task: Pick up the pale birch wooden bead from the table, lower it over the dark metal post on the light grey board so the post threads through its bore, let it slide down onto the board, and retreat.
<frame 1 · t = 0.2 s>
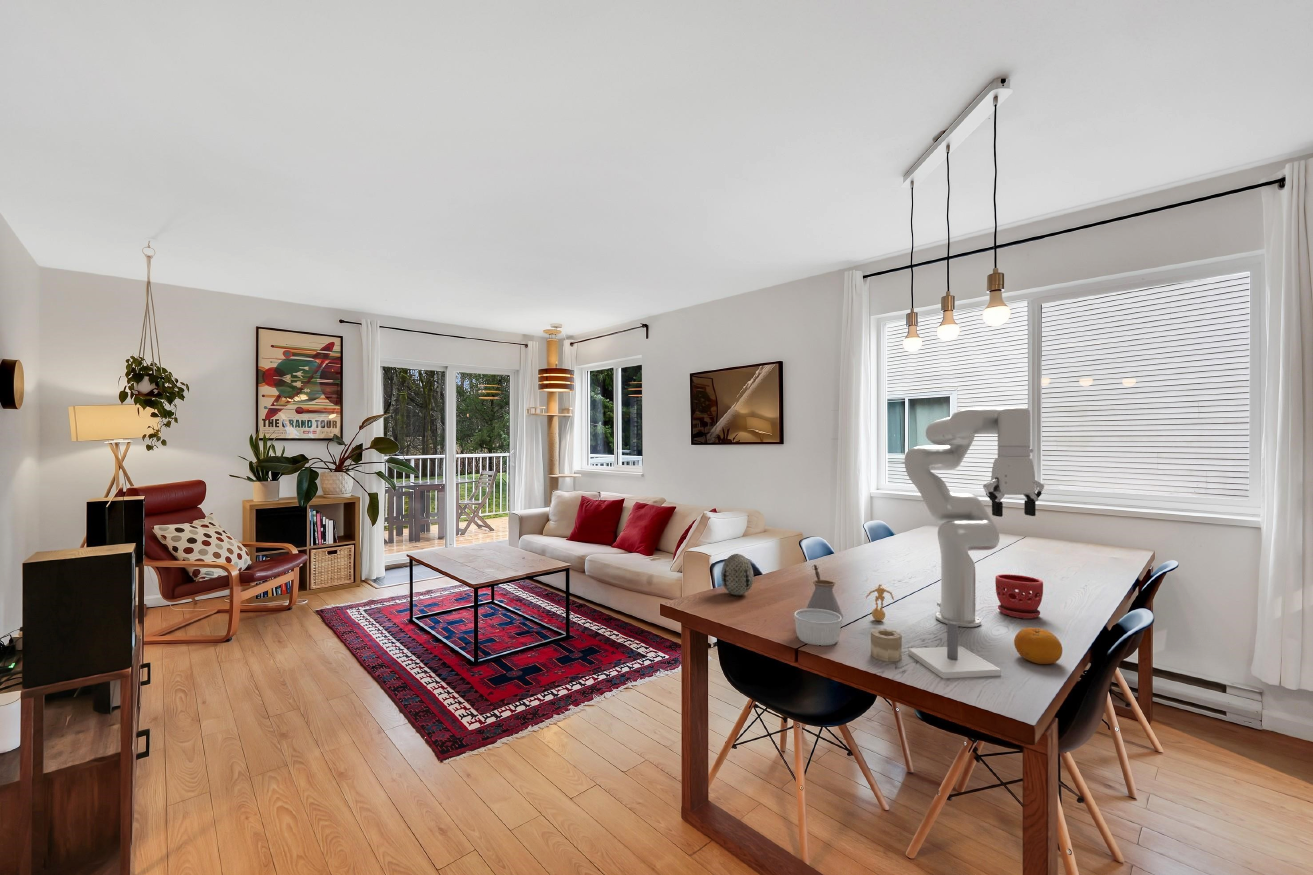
hand: (1013, 515, 152), 37 cm above the table, tool pointing down, fingers open, 9 cm apart
ramekin: (817, 639, 160), on the table
fruit: (1037, 661, 145), on the table
plant pot: (1018, 614, 183), on the table
bead: (886, 655, 148), on the table
post board: (952, 664, 143), on the table
figurine: (879, 622, 175), on the table
decorative egg: (737, 595, 205), on the table
coffee pot: (820, 619, 178), on the table
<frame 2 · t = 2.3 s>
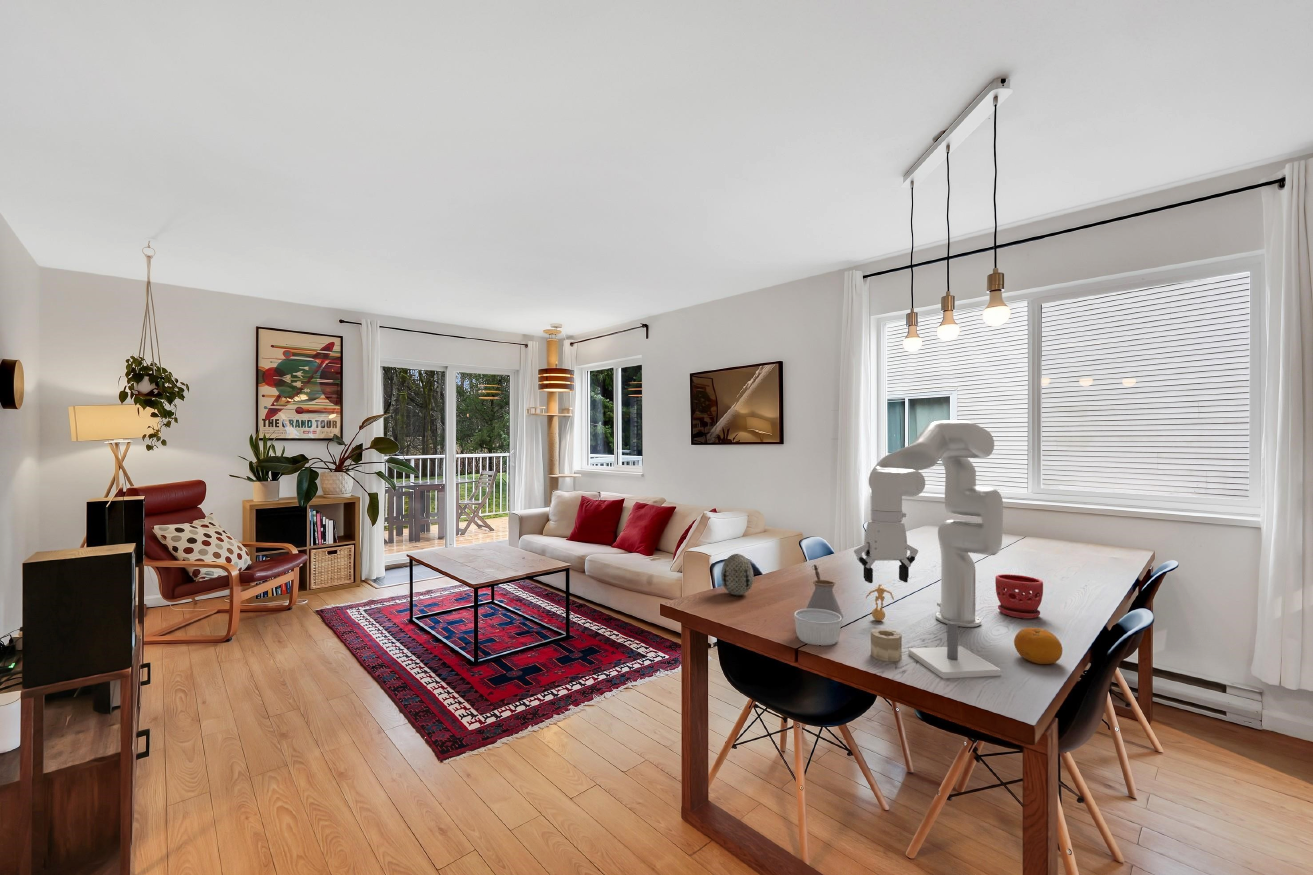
hand: (886, 581, 148), 20 cm above the table, tool pointing down, fingers open, 9 cm apart
nothing on the table moved.
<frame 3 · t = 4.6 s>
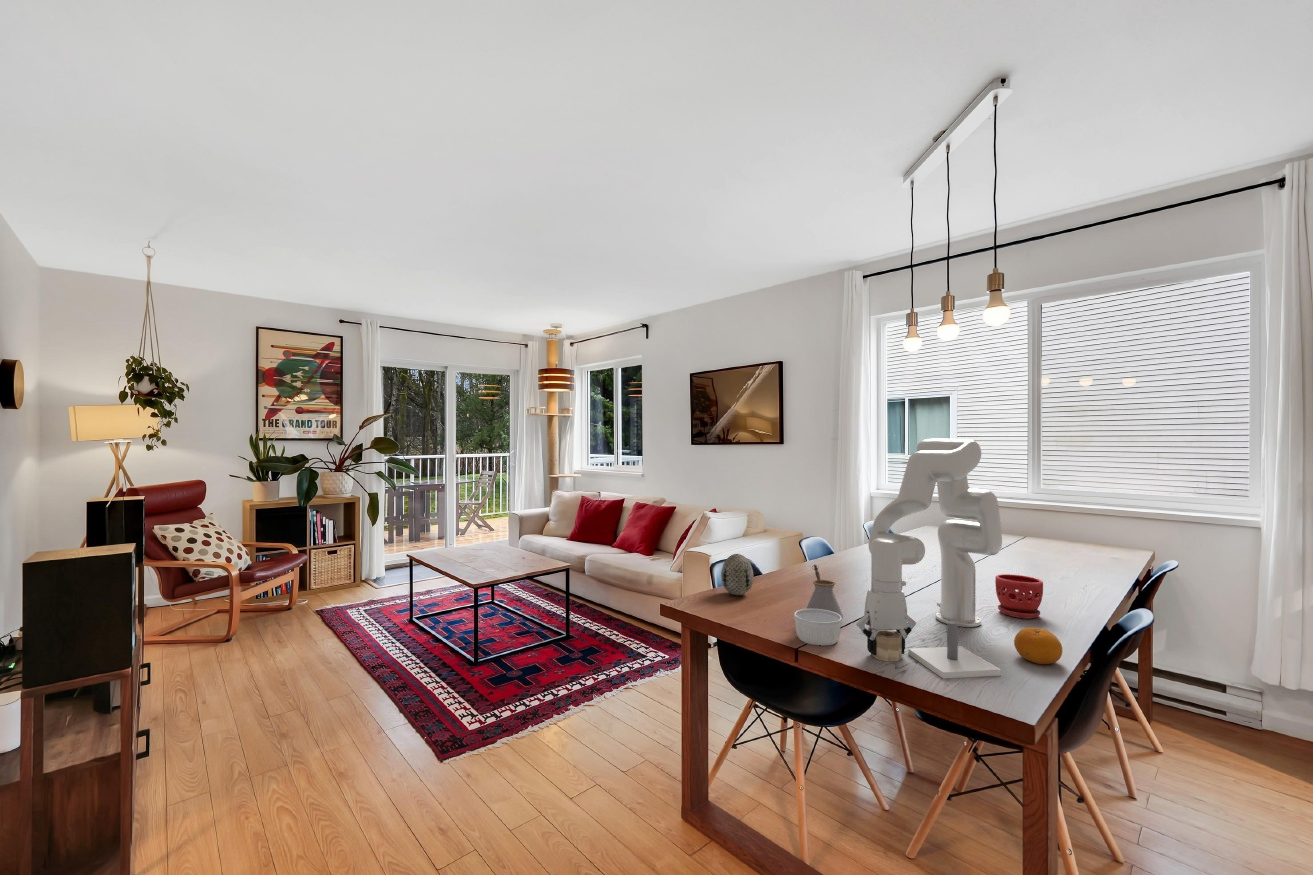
hand: (886, 652, 148), 1 cm above the table, tool pointing down, fingers closed on bead, 7 cm apart
bead: (886, 655, 148), on the table, touching gripper
everything else where it was.
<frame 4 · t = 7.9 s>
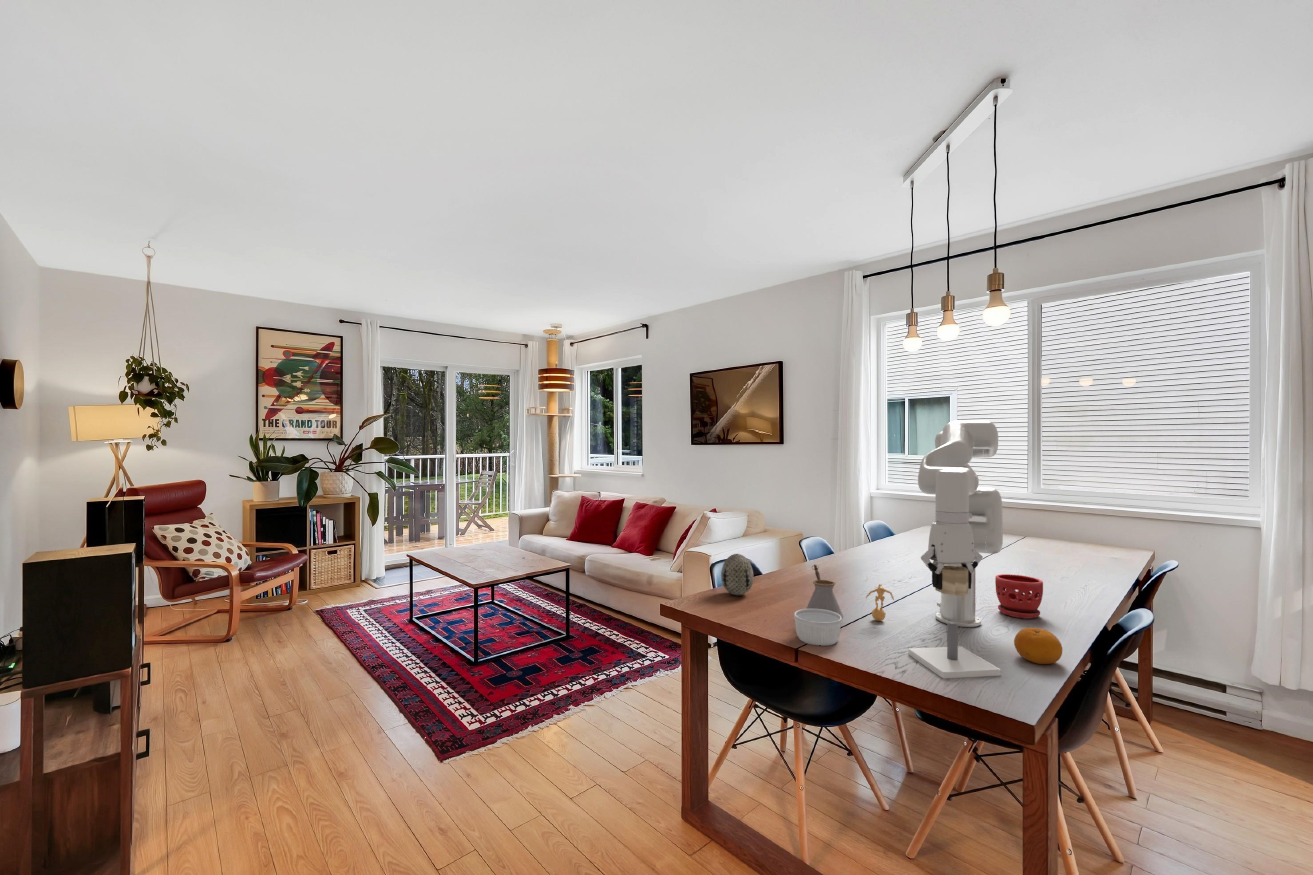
hand: (951, 587, 143), 20 cm above the table, tool pointing down, fingers closed on bead, 7 cm apart
bead: (951, 591, 143), point 19 cm above the table, touching gripper
everything else where it was.
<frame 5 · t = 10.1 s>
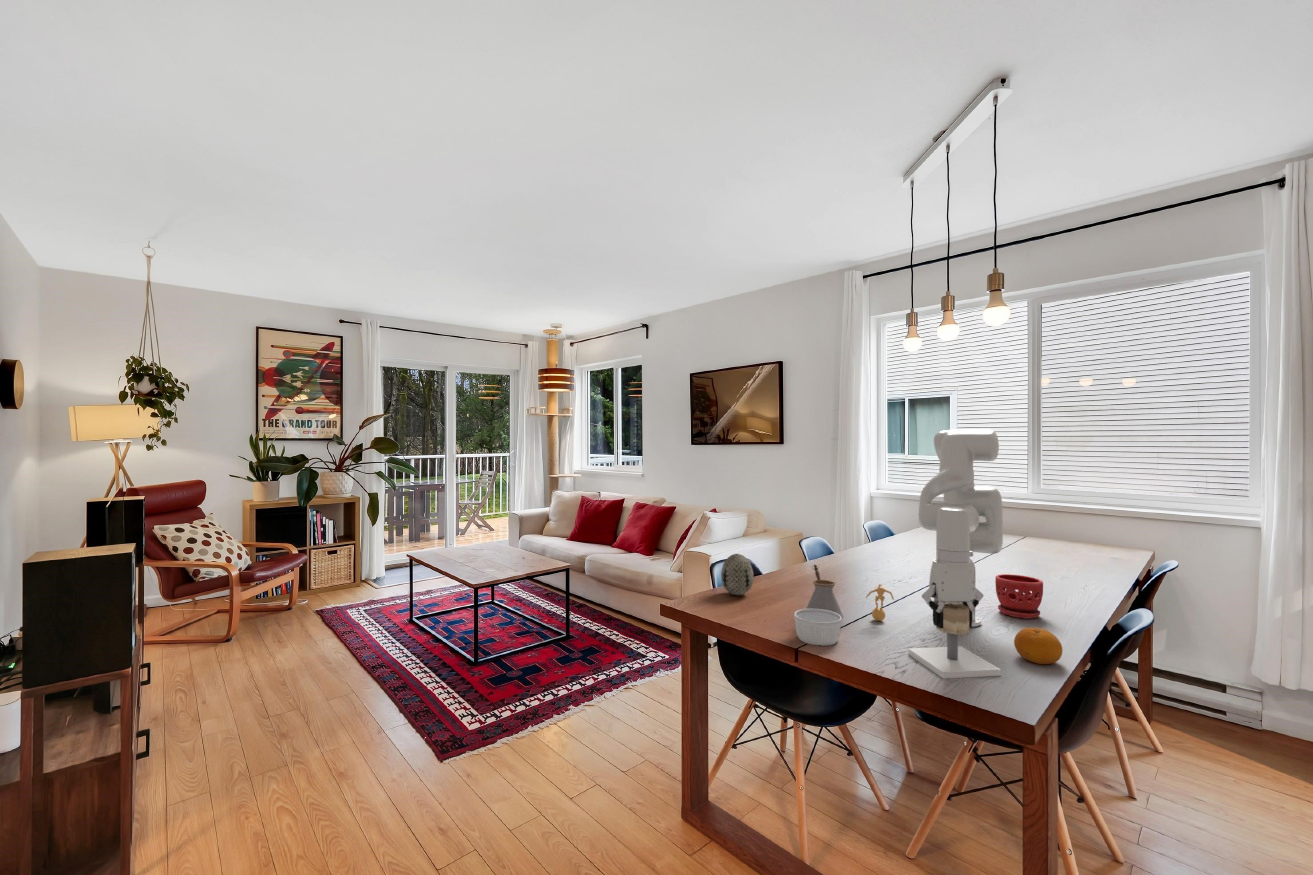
hand: (952, 625, 142), 10 cm above the table, tool pointing down, fingers closed on bead, 7 cm apart
bead: (952, 629, 142), point 9 cm above the table, touching gripper
everything else where it was.
when the fingers open (8 cm above the table, at t = 11.7 s): bead drops 5 cm, resting on post board.
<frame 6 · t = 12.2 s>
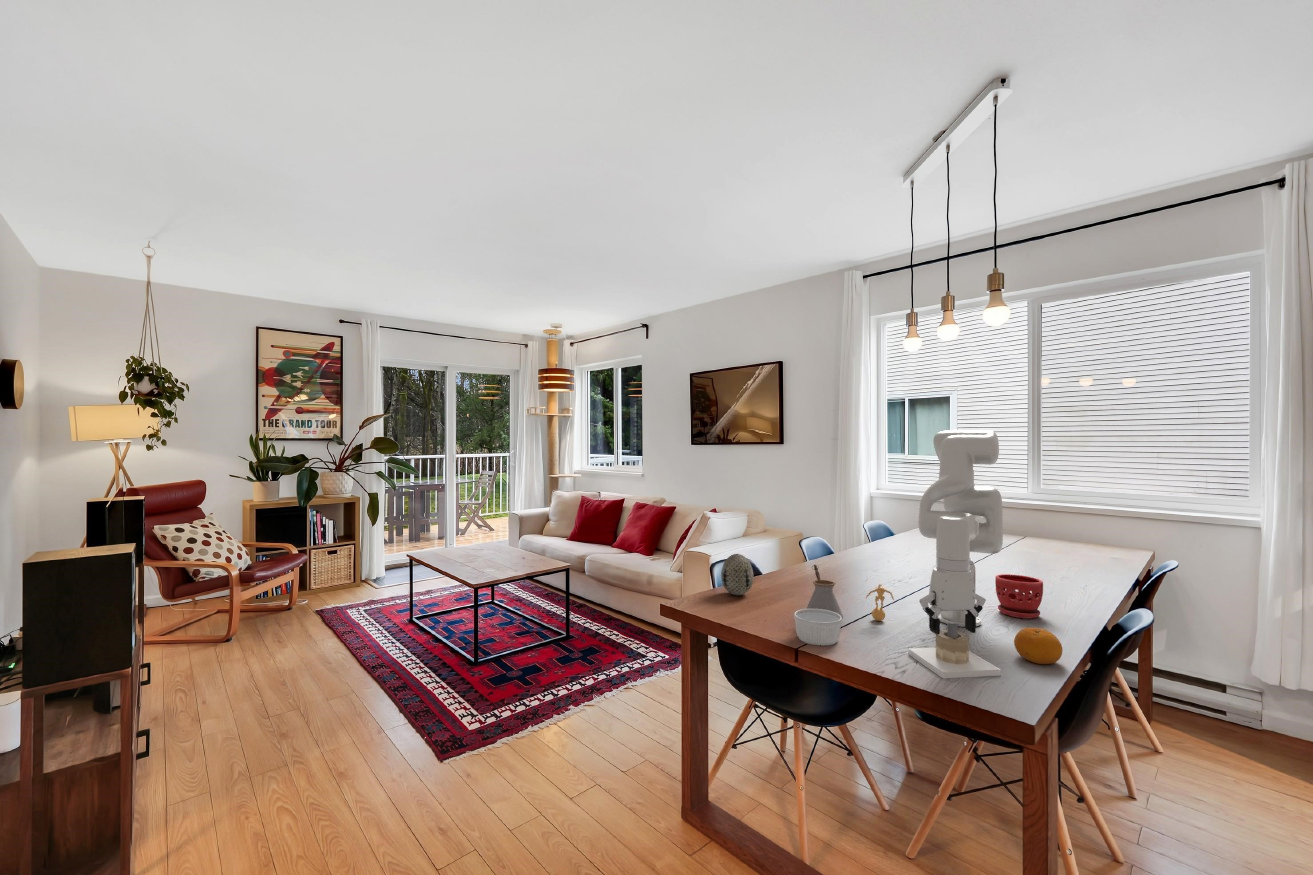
hand: (952, 631, 143), 8 cm above the table, tool pointing down, fingers open, 9 cm apart
bead: (952, 658, 143), point 1 cm above the table, touching post board
everything else where it was.
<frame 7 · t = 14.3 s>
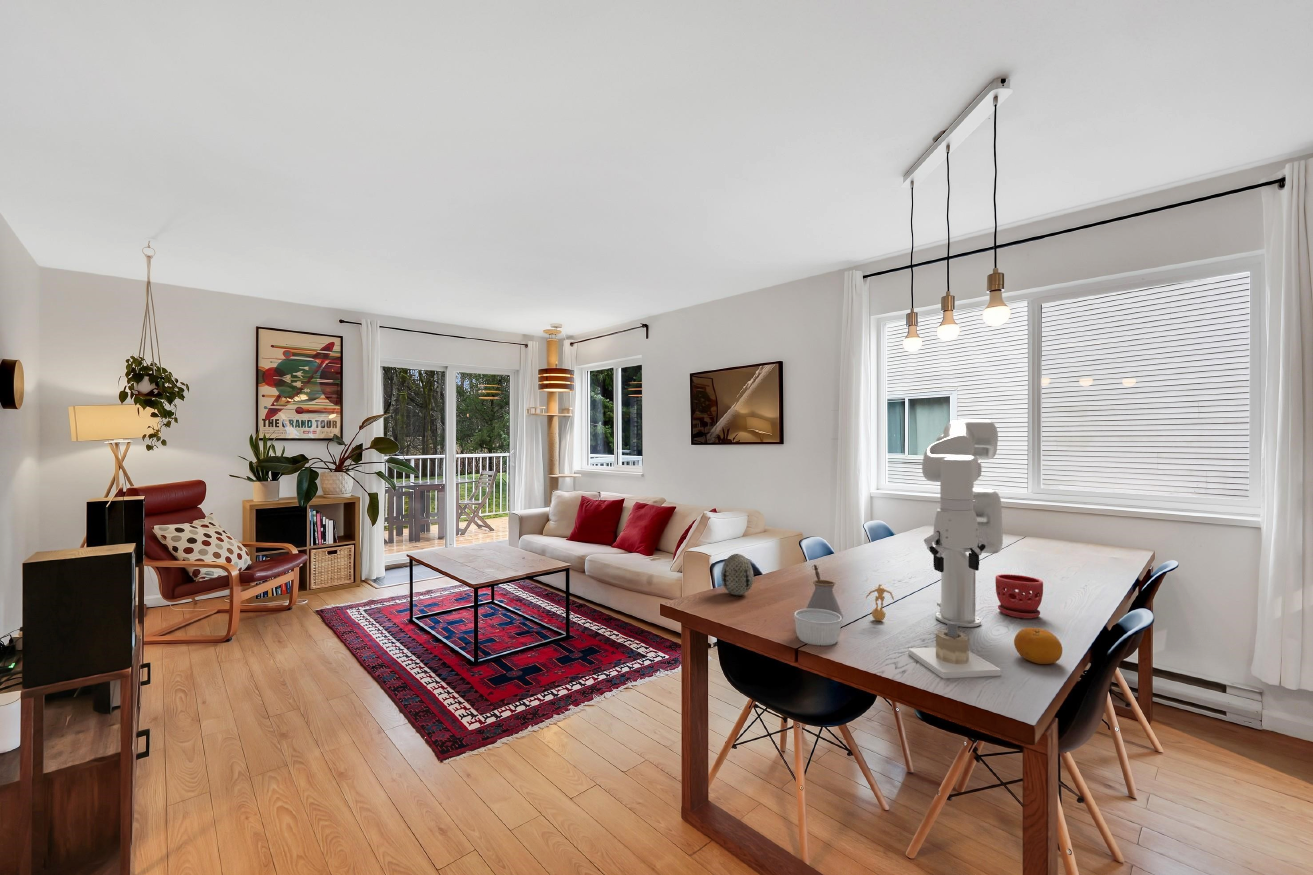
hand: (956, 570, 147), 23 cm above the table, tool pointing down, fingers open, 9 cm apart
nothing on the table moved.
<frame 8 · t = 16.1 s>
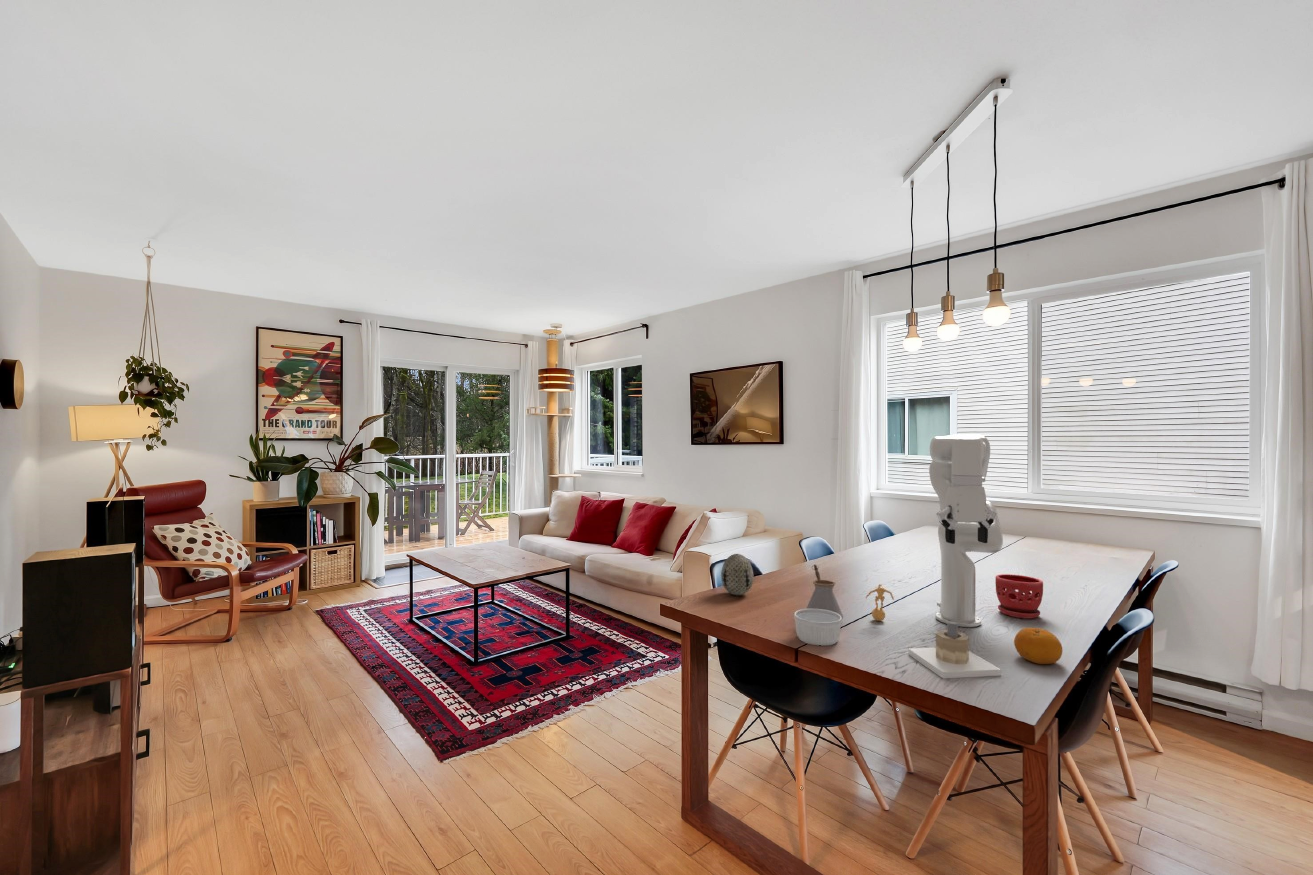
hand: (966, 542, 157), 28 cm above the table, tool pointing down, fingers open, 9 cm apart
nothing on the table moved.
at the end: bead 0.1 cm from the post board (horizontally); bead point 1.5 cm above the table; the gripper is holding nothing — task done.
